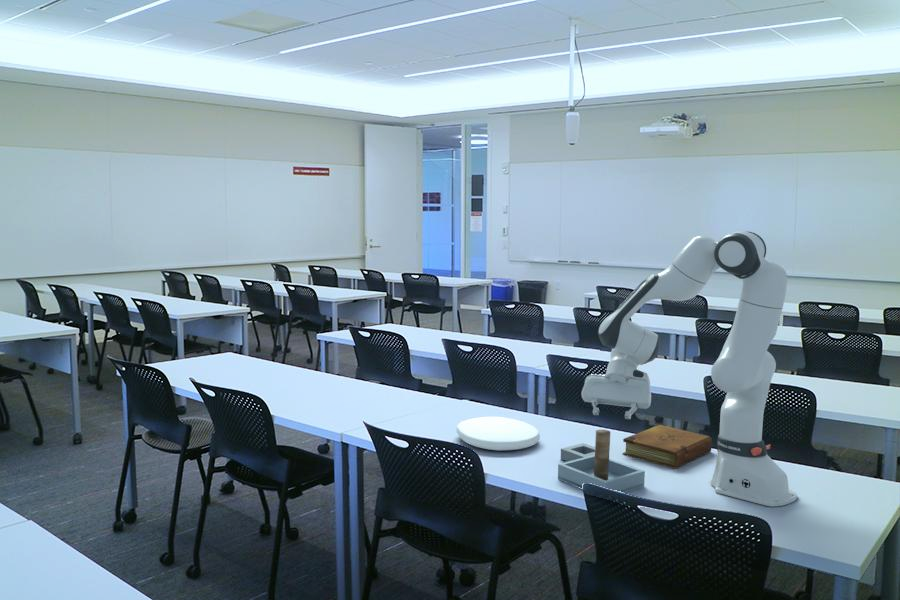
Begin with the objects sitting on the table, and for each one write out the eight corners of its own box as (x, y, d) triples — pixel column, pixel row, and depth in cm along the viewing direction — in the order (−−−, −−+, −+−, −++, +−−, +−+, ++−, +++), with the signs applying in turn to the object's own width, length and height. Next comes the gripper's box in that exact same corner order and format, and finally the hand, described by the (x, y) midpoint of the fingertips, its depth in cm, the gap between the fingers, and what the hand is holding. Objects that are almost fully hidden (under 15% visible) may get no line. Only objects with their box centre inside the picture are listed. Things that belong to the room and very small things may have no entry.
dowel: (611, 480, 208) (613, 432, 206) (601, 483, 205) (603, 434, 204) (600, 476, 211) (602, 428, 209) (590, 478, 209) (592, 431, 207)
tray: (644, 486, 206) (644, 471, 205) (605, 498, 197) (605, 482, 196) (596, 468, 220) (596, 454, 220) (557, 479, 211) (558, 464, 210)
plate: (555, 429, 244) (499, 446, 227) (553, 448, 246) (497, 465, 228) (496, 404, 265) (440, 417, 247) (495, 421, 266) (439, 436, 248)
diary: (676, 471, 221) (677, 452, 220) (622, 456, 234) (623, 438, 233) (711, 453, 237) (711, 436, 237) (658, 440, 250) (659, 424, 250)
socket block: (606, 462, 226) (607, 451, 226) (584, 468, 220) (584, 457, 220) (583, 453, 234) (583, 443, 234) (560, 459, 228) (560, 448, 228)
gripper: (584, 367, 224) (574, 406, 217) (652, 374, 215) (644, 414, 207) (588, 379, 229) (578, 417, 221) (655, 386, 219) (647, 426, 212)
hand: (611, 416), depth 214 cm, fingers open, 8 cm apart
